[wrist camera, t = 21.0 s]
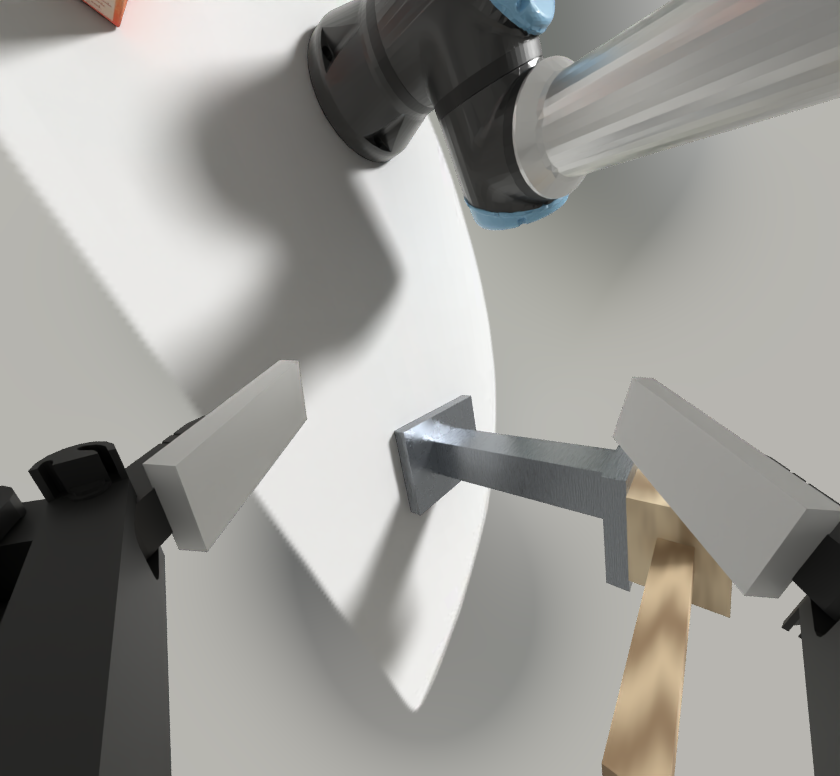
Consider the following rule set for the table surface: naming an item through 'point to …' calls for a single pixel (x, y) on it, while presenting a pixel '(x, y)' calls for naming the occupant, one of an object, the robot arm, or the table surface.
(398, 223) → the table surface
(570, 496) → the stand
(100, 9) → the cracker box
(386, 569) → the table surface
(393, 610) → the table surface
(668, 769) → the mallet
